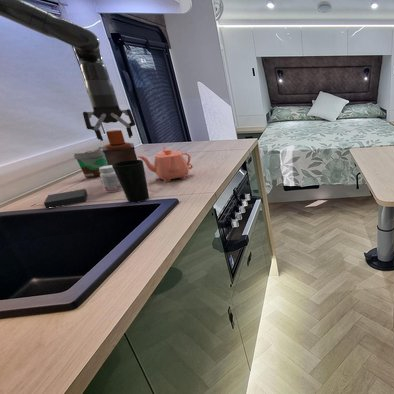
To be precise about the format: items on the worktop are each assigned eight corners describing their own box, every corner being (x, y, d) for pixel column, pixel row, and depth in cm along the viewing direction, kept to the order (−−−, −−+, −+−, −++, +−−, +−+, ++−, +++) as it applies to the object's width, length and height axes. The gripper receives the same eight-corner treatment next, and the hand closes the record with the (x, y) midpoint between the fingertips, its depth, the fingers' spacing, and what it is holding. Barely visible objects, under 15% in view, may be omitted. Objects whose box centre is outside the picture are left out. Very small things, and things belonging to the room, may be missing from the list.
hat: (105, 149, 105) (100, 133, 103) (106, 146, 111) (101, 130, 108) (131, 146, 109) (126, 131, 107) (130, 143, 115) (126, 128, 113)
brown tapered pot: (113, 182, 108) (102, 150, 104) (113, 176, 115) (103, 146, 111) (143, 177, 114) (134, 146, 109) (141, 171, 120) (133, 143, 116)
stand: (46, 209, 86) (43, 202, 85) (50, 200, 92) (48, 195, 91) (85, 201, 91) (83, 195, 90) (87, 194, 97) (85, 188, 96)
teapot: (179, 184, 106) (172, 154, 101) (143, 183, 107) (134, 154, 103) (202, 172, 119) (196, 145, 115) (170, 171, 120) (163, 145, 116)
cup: (158, 195, 95) (148, 160, 91) (138, 204, 88) (126, 167, 84) (139, 194, 97) (128, 159, 92) (118, 202, 90) (105, 165, 85)
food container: (98, 179, 112) (89, 153, 108) (82, 179, 112) (72, 153, 108) (121, 169, 123) (114, 146, 119) (107, 170, 123) (99, 146, 119)
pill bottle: (104, 190, 100) (96, 167, 97) (121, 186, 103) (113, 164, 100) (107, 193, 97) (98, 169, 94) (124, 190, 100) (116, 166, 97)
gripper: (126, 92, 109) (138, 135, 116) (76, 93, 101) (92, 140, 108) (126, 93, 104) (139, 138, 110) (74, 94, 96) (91, 143, 102)
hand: (116, 139), depth 109 cm, fingers open, 8 cm apart
